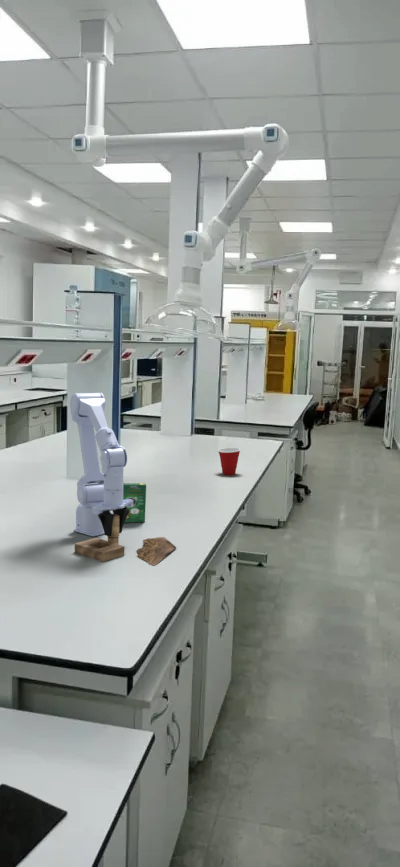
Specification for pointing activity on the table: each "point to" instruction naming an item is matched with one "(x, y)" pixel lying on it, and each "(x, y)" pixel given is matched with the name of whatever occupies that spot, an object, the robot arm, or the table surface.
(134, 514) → the coffee box
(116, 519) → the peg
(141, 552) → the wooden fragment
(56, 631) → the table surface
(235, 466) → the plastic cup
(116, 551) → the board
